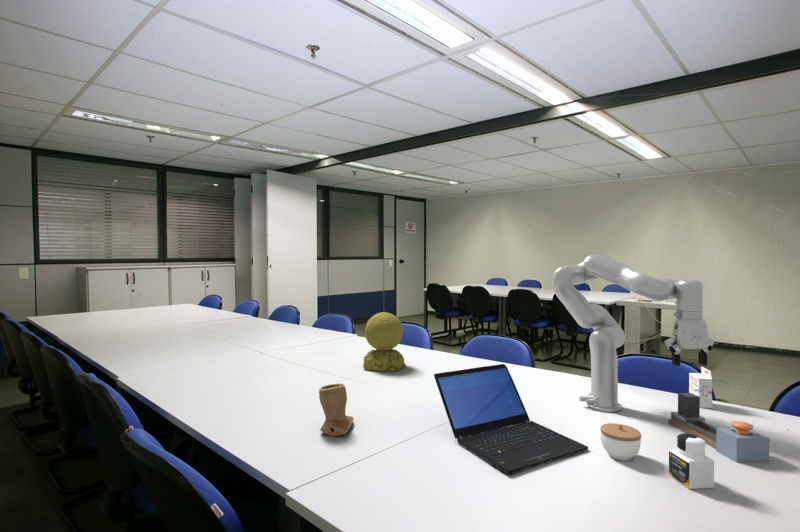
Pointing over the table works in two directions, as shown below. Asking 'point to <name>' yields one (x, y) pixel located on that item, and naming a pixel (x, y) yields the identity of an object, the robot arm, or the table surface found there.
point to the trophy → (383, 343)
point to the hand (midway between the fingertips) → (689, 364)
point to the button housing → (742, 445)
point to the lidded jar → (620, 441)
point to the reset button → (742, 427)
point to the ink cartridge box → (702, 387)
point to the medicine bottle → (691, 463)
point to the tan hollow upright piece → (334, 409)
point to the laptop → (498, 420)
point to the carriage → (689, 408)
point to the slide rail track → (696, 429)
